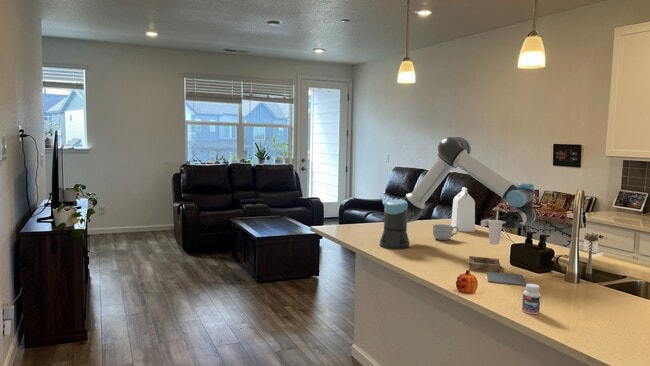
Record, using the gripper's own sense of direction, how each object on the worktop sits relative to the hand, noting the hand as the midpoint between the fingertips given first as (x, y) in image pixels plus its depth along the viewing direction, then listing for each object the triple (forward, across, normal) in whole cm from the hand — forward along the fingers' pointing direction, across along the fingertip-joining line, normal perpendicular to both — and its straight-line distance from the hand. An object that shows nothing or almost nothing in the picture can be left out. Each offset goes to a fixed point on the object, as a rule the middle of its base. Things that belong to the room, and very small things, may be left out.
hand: (489, 225), depth 197 cm
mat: (+2, -9, -20) cm, 22 cm away
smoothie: (-5, 0, -9) cm, 10 cm away
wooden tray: (-7, +5, -20) cm, 22 cm away
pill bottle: (+31, -31, -21) cm, 49 cm away
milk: (-79, +57, -21) cm, 99 cm away
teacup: (-44, +48, -21) cm, 68 cm away
